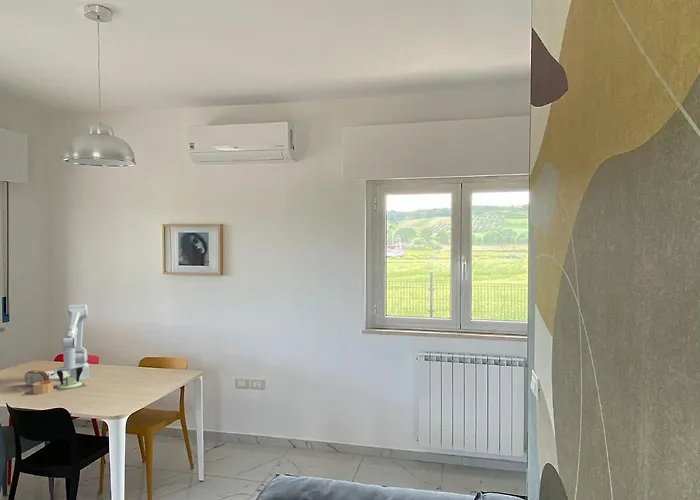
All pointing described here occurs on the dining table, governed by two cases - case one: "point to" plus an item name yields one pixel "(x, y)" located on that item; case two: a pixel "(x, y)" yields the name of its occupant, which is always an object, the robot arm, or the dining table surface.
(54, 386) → the mat
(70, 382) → the lid
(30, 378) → the tin
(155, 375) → the dining table surface
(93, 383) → the dining table surface
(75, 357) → the robot arm
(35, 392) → the bowl
